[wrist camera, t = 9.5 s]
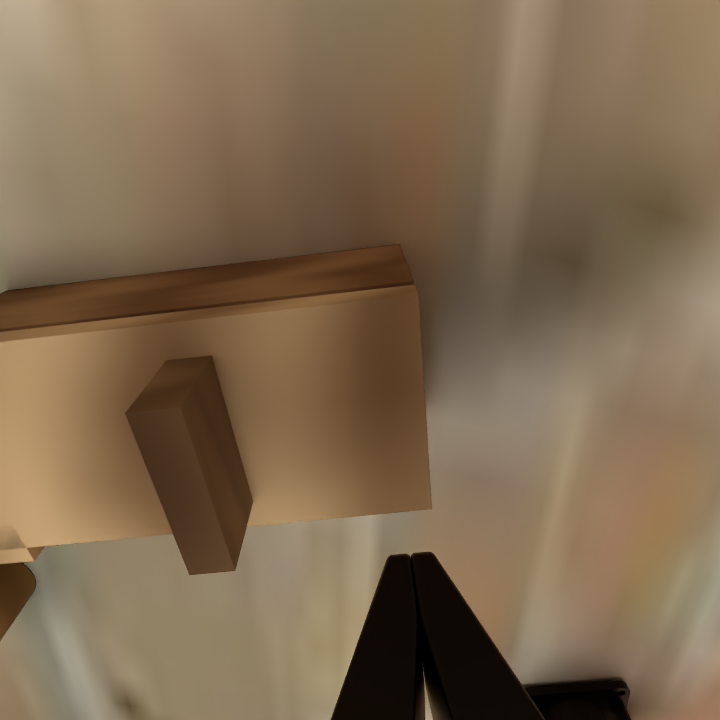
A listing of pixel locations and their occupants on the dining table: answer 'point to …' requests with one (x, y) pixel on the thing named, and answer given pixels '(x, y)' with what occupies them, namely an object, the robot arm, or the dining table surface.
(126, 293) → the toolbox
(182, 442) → the lid
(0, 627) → the key peg
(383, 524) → the dining table surface
